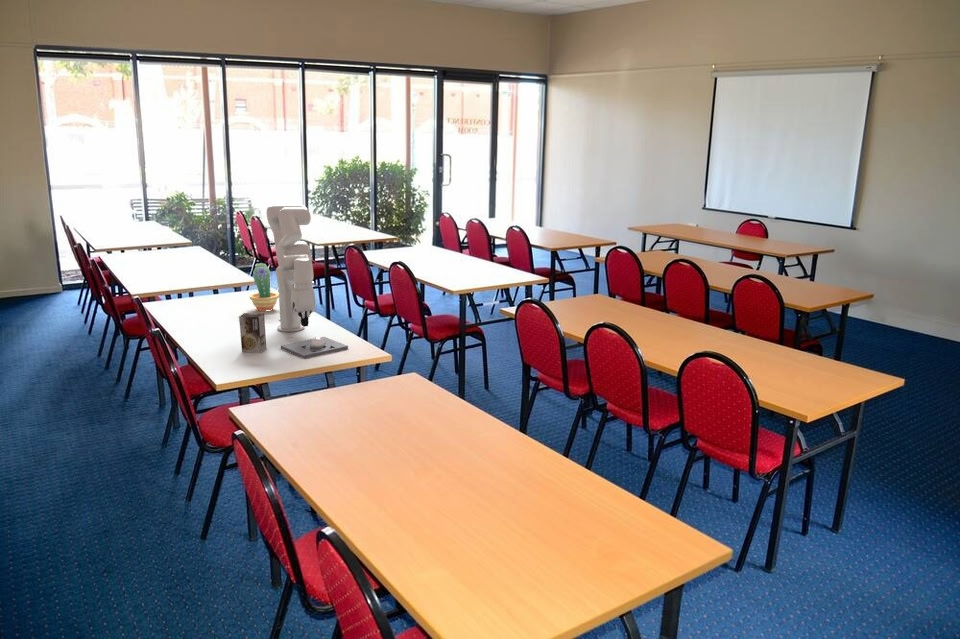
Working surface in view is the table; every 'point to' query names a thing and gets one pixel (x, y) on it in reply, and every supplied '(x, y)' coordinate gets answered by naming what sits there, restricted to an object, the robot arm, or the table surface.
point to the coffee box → (252, 332)
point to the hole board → (306, 351)
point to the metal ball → (317, 343)
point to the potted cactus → (263, 289)
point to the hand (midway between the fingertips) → (304, 325)
